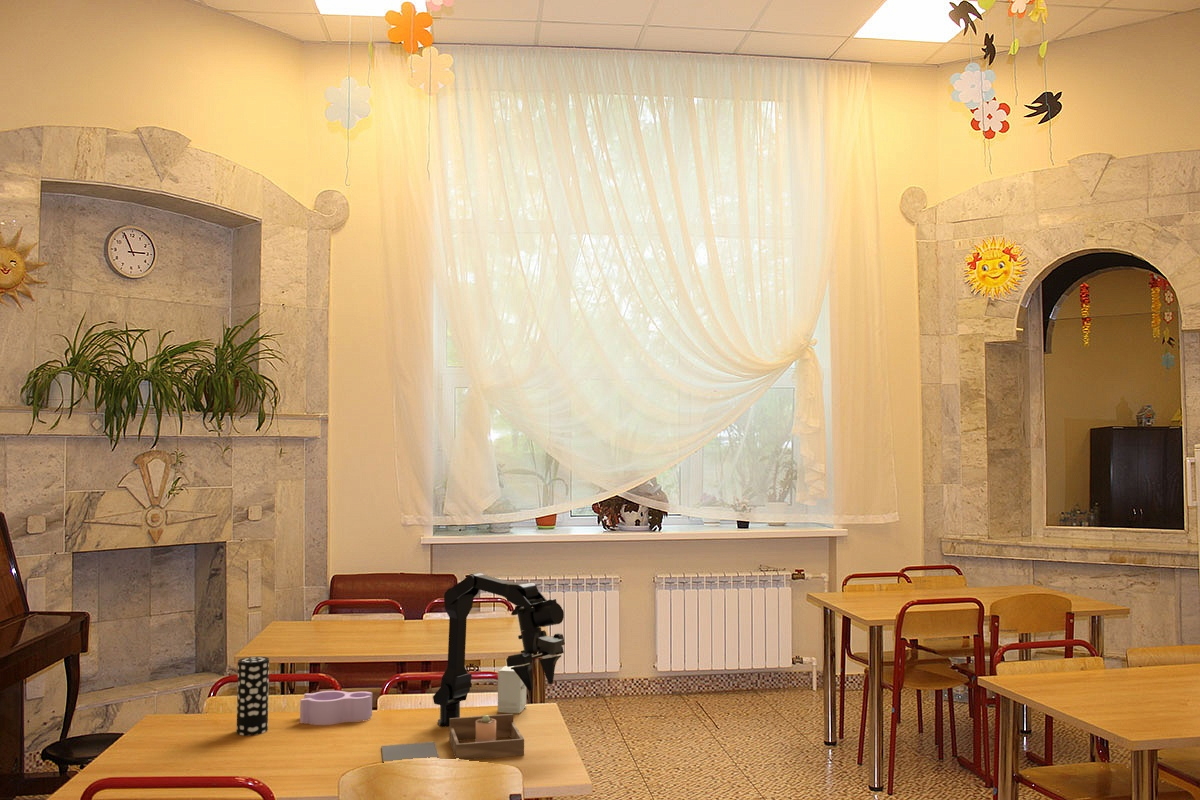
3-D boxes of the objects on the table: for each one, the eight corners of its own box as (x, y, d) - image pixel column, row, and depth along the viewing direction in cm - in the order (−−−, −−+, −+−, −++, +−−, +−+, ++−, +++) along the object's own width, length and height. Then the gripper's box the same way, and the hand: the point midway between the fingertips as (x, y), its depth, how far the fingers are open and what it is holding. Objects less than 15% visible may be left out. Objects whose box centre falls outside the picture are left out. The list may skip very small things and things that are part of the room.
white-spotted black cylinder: (229, 733, 264) (231, 661, 266) (251, 725, 272) (252, 655, 273) (253, 736, 261) (254, 664, 262) (274, 728, 269) (275, 658, 270)
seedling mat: (381, 747, 251) (381, 745, 251) (434, 743, 255) (434, 741, 255) (383, 764, 238) (383, 762, 238) (439, 759, 242) (439, 757, 242)
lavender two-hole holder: (373, 712, 287) (373, 689, 287) (368, 724, 274) (369, 699, 275) (305, 714, 284) (306, 691, 285) (298, 726, 272) (298, 702, 272)
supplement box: (520, 714, 284) (520, 671, 285) (496, 712, 286) (497, 670, 287) (527, 707, 292) (527, 666, 292) (504, 706, 293) (504, 665, 294)
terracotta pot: (474, 745, 254) (474, 713, 254) (494, 743, 255) (494, 711, 255) (476, 751, 248) (477, 718, 249) (497, 750, 250) (497, 717, 250)
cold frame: (449, 740, 258) (449, 718, 258) (512, 735, 262) (512, 713, 263) (456, 760, 241) (456, 736, 241) (524, 755, 245) (524, 731, 246)
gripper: (533, 629, 246) (544, 690, 243) (573, 620, 262) (584, 677, 258) (500, 635, 252) (511, 695, 249) (542, 626, 267) (552, 682, 264)
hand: (541, 687), depth 255 cm, fingers open, 9 cm apart
